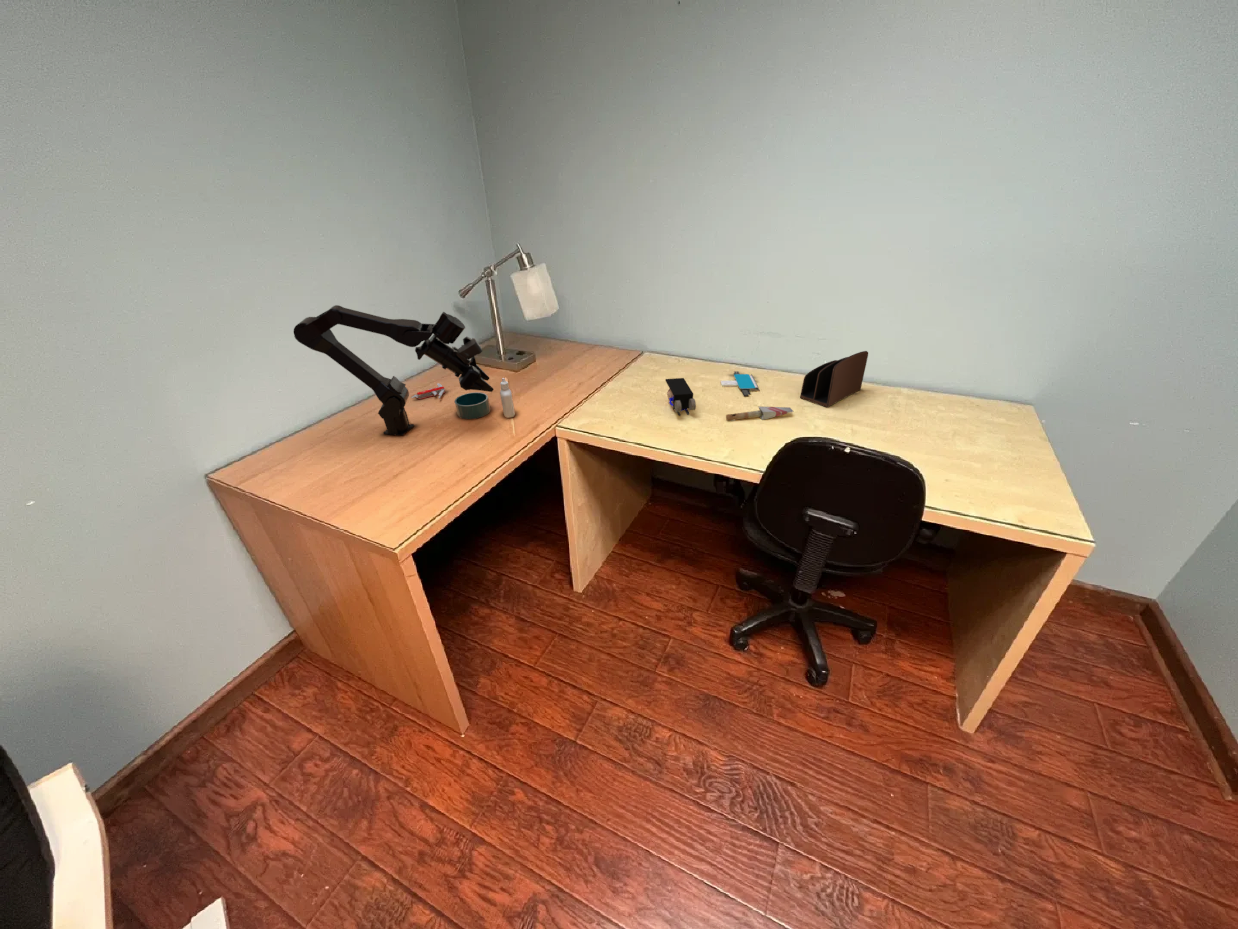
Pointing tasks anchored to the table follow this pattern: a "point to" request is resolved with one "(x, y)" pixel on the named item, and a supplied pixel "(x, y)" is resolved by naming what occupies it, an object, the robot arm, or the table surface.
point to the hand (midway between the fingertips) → (490, 384)
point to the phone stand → (742, 383)
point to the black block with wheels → (680, 395)
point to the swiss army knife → (431, 392)
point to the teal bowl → (472, 405)
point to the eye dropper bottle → (506, 399)
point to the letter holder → (834, 380)
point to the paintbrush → (761, 413)
